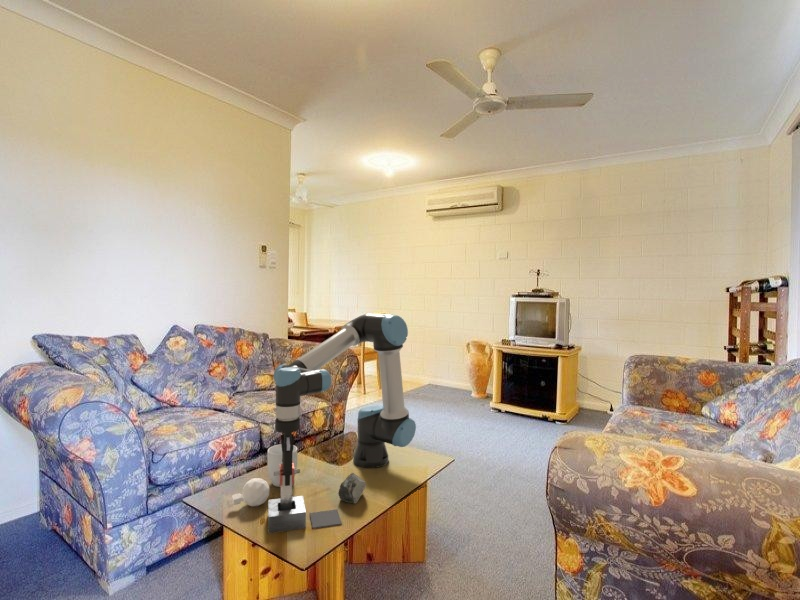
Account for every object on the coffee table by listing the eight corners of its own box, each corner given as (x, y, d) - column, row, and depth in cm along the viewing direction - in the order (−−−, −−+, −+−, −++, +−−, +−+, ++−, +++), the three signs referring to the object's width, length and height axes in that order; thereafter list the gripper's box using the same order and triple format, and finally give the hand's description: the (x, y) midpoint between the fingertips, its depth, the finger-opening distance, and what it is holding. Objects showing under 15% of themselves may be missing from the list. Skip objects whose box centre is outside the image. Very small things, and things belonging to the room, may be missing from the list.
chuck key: (298, 505, 140) (299, 462, 139) (299, 511, 135) (300, 467, 135) (272, 508, 137) (273, 464, 137) (273, 515, 133) (273, 470, 133)
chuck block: (302, 510, 143) (302, 495, 143) (305, 528, 133) (305, 512, 133) (268, 515, 140) (268, 499, 140) (268, 533, 130) (268, 517, 129)
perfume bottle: (266, 489, 154) (231, 501, 148) (265, 468, 151) (229, 480, 145) (273, 506, 147) (236, 519, 141) (272, 485, 144) (234, 498, 138)
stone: (347, 466, 155) (355, 477, 146) (366, 480, 158) (376, 492, 149) (330, 489, 153) (337, 501, 143) (350, 503, 156) (359, 516, 147)
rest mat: (337, 510, 144) (337, 509, 144) (341, 524, 135) (341, 523, 135) (309, 514, 141) (309, 512, 141) (312, 528, 133) (312, 527, 133)
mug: (305, 489, 158) (305, 454, 158) (275, 497, 152) (275, 460, 152) (291, 474, 171) (291, 441, 170) (263, 480, 165) (263, 447, 164)
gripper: (274, 410, 143) (273, 480, 143) (275, 426, 126) (274, 505, 127) (297, 409, 145) (296, 477, 146) (302, 425, 128) (300, 502, 129)
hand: (286, 490), depth 136 cm, fingers closed on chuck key, 4 cm apart
